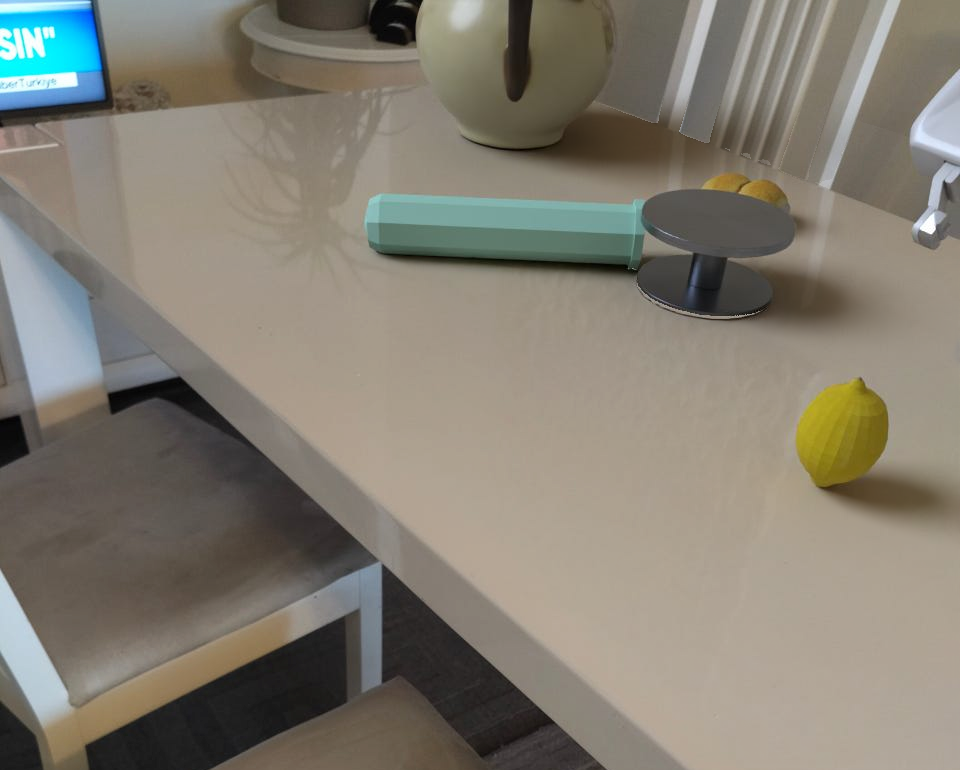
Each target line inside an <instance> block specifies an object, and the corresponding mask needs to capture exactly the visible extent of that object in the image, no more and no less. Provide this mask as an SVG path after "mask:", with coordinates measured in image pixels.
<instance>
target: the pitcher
mask: <svg viewBox="0 0 960 770" xmlns="http://www.w3.org/2000/svg"><path fill="white" fill-rule="evenodd" d="M617 24H618V23H617V19H616V15H615V11H614V8H613V5H612V3H611V0H422V1H421V5H420V7H419V10H418V13H417V17H416V22H415V43H416V44H415V45H416V50H417V55H418V59H419V64H420V67H421V70H422V73H423V74H424V76H425V79H426V81H427V83H428V85H429V86H430V89H431V90H432V92H433V93H434V95H435V97H437V99H438V101H439V102H440V103H441V105H442V106H443V107H444V108H445V109H446V110H447V111H448V112H449V113H450V114H451V115H452V116H453V118H454V119H455V122H456V128H457V131H458V132H459V134H460V135H461V136H462V137H463V138H465V139H467V140H469V141H472V142H474V143H478V144H480V145H485V146H488V147H494V148H500V149H510V150H528V149H537V148H544V147H548V146H551V145H555V144H556V143H557V142H559V141H560V140H561V139H562V137H563V135H564V131H565V130H566V128H567V126H569V125H570V124H571V123H573V122H574V121H576V119H578V118H579V117H580V116H581V115H582V114H583V113H584V112H585V111H586V110H587V109H588V108H589V107H590V106H591V105H592V104H593V102H594V101H595V100H596V99H597V97H598V95H599V94H600V93H601V92H602V90H603V89H604V87H605V85H606V83H607V81H608V79H609V77H610V75H611V71H612V68H613V66H614V63H615V59H616V55H617V49H618V25H617Z"/></svg>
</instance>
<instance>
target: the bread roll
mask: <svg viewBox="0 0 960 770" xmlns="http://www.w3.org/2000/svg"><path fill="white" fill-rule="evenodd" d="M700 189H710V190H720V191H728V192H734V193H739V194H743V195H747V196H751V197H754V198H757V199H760V200H763V201H766V202H768V203H771V204H773V205H775V206H777V207H779V208H780V209H782V210H783V211H785V212H786V213H788V214H789V215H790V211H791V205H790V203H789V199H788V197H787V194H786V193H785V191H783V189H782V188H781V187H779V186H778V185H777V184H776V183H775V182H773V181H771V180H769V179H764V178H762V179H757V180H752V179H750V178H748V177H747V176H745V175H744V174H741V173H737V172H726V173H722V174H719V175H716V176H714V177H712V178H711V179H709V180H707V181H706V182H705V183H704V184H703V185H702V187H701V188H700Z"/></svg>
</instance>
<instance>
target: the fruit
mask: <svg viewBox="0 0 960 770" xmlns="http://www.w3.org/2000/svg"><path fill="white" fill-rule="evenodd" d="M889 423H890V422H889V412H888V408H887V404H886V402H885V400H883V398H882V397H881V396H879V394H877V392H875V391H874V390H873V389H871V388H869V387H867V386H866V383H865V380H864V379H863V378H862V377H861V376H858V377H856V378H853V379H852V380H850V381H849V382H843V383H836V384H833V385H830V386H827V387H826V388H824V390H822V391H821V392H819V393H818V394H817V395H816V396H815V397H814V398H813V399H812V401H811V402H810V403H809V404H808V405H807V406H806V408H805V409H804V411H803V413H802V414H801V417H800V418H799V421H798V424H797V429H796V435H795V448H796V453H797V457H798V459H799V461H800V463H801V465H802V467H803V468H804V470H805V471H806V472H807V473H808V474H809V477H810V480H811V482H812V483H813V484H814V485H816V486H817V487H819V488H820V487H821V488H828V487H830V486H833V485H836V484H837V485H838V484H844V483H848V482H852V481H854V480H856V479H859V478H861V477H863V475H865V474H866V473H867V472H869V471H870V470H871V469H872V468H873V466H874V465H875V464H876V463H877V461H878V460H879V459H880V457H882V455H883V453H884V451H885V449H886V446H887V443H888V439H889V425H890V424H889Z"/></svg>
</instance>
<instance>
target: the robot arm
mask: <svg viewBox="0 0 960 770" xmlns="http://www.w3.org/2000/svg"><path fill="white" fill-rule="evenodd" d="M909 150H910V154H911V158H912V160H913V165H914V167H915V169H916V172H917V173H918V174H920V175H922V176H924V177H927V178H929V179H932V181H931V186H930V192H929V197H928V203H927V208H926V210H925V211H924V212H923V213H922V215H921V216H920V217H919V218H918V220H917V221H916V222H915V223H914V224H913V226H912V228H911V236H912V239H913V242H914V243H915V244H917V245H919V246H921V247H924V248H927V249H928V250H932V251H935V250H937V249H938V248H939V247H940V246H941V241H943V240H946V239H947V238H948V236H949V235H950V234H951V233H952V231H953V229H952V225H951V223H949V222H950V217H949V214H948V213H946V211H947V207H948V202H951V203H953V204H955V203H958V202H959V201H960V68H959V69H958V70H957V71H955V73H954V74H953V75H952V77H950V78H949V79H948V80H947V82H946V83H945V84H944V85H943V86H942V87H941V88H940V89H939V91H937V93H936V94H935V95H934V97H933V98H931V100H930V101H929V102H928V104H927V105H926V106H925V107H924V108H923V110H922V111H921V112H920V113H919V114H918V116H917V117H916V119H915V120H914V122H913V123H912V126H911V128H910V131H909Z"/></svg>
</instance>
